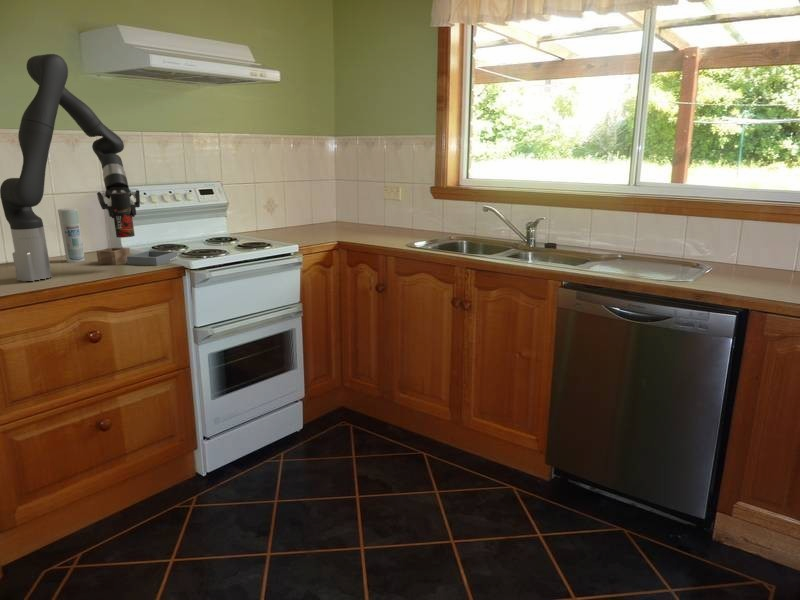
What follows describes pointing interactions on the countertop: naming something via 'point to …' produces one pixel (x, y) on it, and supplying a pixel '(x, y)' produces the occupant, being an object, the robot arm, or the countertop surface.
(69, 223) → the spray can
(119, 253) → the brown square block
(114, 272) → the countertop surface
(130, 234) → the deodorant
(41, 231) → the robot arm
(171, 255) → the tray
